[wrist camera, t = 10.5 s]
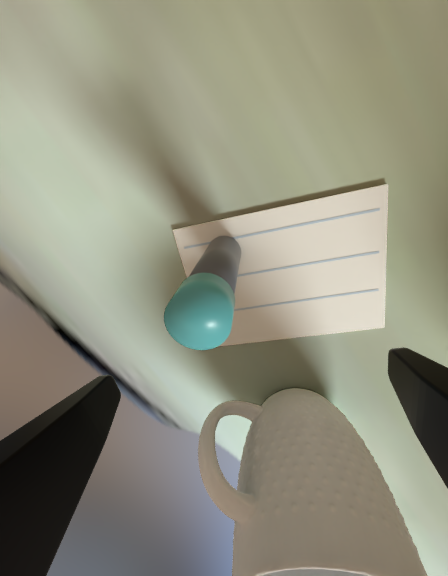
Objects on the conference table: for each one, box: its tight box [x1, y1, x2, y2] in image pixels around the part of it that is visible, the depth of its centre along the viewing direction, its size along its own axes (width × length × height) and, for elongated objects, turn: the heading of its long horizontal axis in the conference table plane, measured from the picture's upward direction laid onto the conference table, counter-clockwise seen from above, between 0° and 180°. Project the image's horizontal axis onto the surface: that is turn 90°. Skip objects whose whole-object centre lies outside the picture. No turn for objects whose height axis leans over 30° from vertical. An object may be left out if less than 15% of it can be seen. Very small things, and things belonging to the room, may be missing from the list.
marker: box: [164, 236, 241, 350], centre depth 15 cm, size 3×3×10 cm
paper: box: [173, 184, 388, 347], centre depth 20 cm, size 15×11×1 cm
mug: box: [198, 388, 427, 576], centre depth 19 cm, size 15×11×13 cm
